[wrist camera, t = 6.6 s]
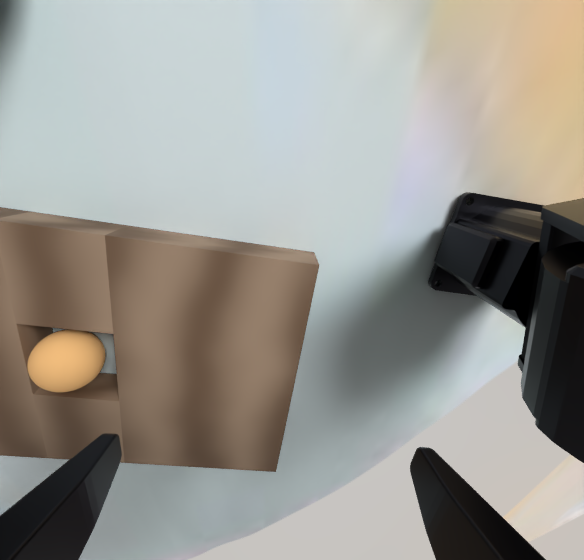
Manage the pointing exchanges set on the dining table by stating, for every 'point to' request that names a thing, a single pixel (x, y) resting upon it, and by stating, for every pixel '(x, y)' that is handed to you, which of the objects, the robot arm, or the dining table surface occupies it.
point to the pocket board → (152, 340)
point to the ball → (66, 360)
